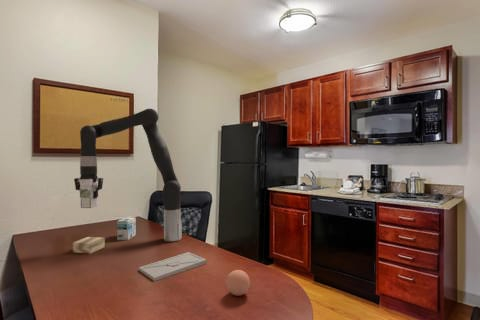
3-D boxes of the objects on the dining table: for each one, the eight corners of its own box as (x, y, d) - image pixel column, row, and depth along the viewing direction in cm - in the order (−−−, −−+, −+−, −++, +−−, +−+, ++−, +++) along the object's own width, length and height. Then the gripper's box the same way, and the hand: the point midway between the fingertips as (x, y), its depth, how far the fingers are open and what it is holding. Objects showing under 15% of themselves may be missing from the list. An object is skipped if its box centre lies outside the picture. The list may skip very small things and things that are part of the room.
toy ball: (249, 288, 95) (249, 266, 95) (250, 300, 87) (250, 275, 87) (226, 289, 95) (226, 266, 95) (226, 300, 87) (225, 276, 87)
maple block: (104, 247, 142) (104, 237, 142) (90, 253, 132) (90, 243, 132) (87, 246, 143) (87, 236, 143) (72, 252, 134) (72, 242, 134)
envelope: (139, 272, 111) (154, 282, 101) (138, 266, 111) (154, 277, 101) (188, 256, 128) (206, 264, 118) (188, 251, 128) (206, 259, 118)
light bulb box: (128, 240, 153) (128, 221, 153) (116, 240, 153) (116, 221, 153) (136, 234, 164) (136, 217, 164) (125, 234, 164) (124, 217, 164)
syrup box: (98, 206, 140) (97, 178, 140) (90, 208, 134) (90, 179, 134) (87, 206, 141) (87, 178, 141) (80, 208, 135) (79, 179, 135)
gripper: (106, 165, 141) (106, 197, 141) (79, 165, 141) (79, 197, 141) (98, 165, 134) (99, 199, 134) (69, 165, 134) (70, 199, 134)
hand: (89, 198), depth 138 cm, fingers closed on syrup box, 6 cm apart
